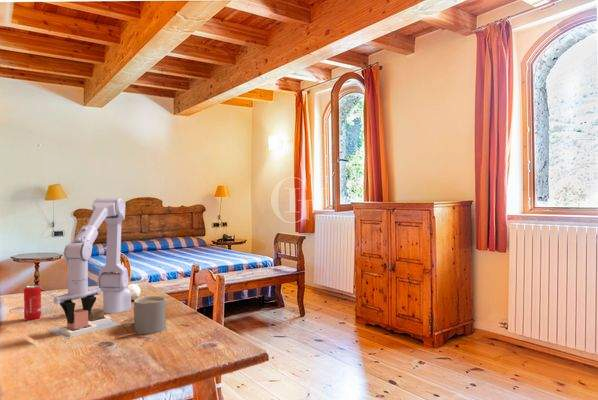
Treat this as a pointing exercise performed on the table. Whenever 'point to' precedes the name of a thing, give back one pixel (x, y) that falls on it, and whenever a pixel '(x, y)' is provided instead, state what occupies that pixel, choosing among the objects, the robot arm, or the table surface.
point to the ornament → (134, 291)
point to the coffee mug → (149, 314)
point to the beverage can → (32, 302)
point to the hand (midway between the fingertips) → (78, 321)
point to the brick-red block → (79, 319)
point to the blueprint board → (85, 328)
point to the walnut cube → (96, 314)
